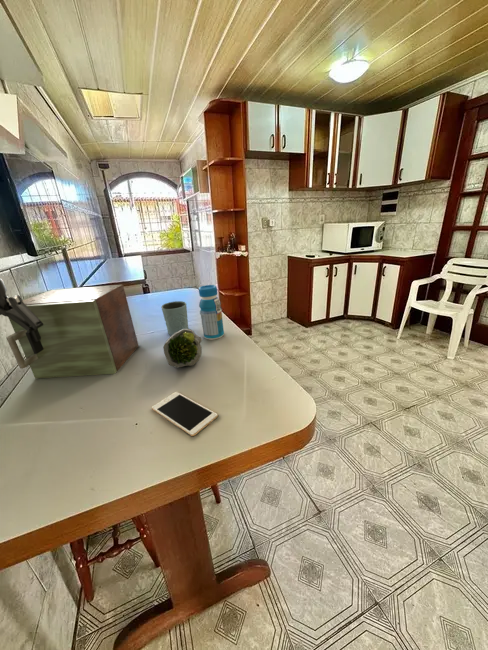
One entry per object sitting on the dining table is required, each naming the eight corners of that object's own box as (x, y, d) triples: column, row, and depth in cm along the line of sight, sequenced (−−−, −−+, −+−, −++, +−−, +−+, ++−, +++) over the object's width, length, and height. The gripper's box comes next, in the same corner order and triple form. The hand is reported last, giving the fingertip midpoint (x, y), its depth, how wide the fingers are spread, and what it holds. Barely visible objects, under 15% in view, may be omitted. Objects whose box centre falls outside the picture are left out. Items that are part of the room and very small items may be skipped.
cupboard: (117, 371, 86) (95, 298, 77) (39, 376, 88) (8, 305, 78) (138, 346, 103) (123, 284, 94) (72, 350, 104) (50, 289, 95)
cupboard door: (105, 384, 79) (80, 307, 70) (21, 389, 81) (-15, 314, 71) (117, 371, 86) (95, 299, 77) (38, 376, 87) (8, 306, 78)
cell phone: (176, 393, 72) (176, 391, 72) (218, 416, 63) (218, 414, 62) (151, 409, 67) (150, 407, 67) (192, 437, 57) (192, 434, 57)
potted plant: (205, 340, 95) (217, 345, 81) (183, 370, 92) (191, 381, 78) (177, 320, 91) (184, 322, 77) (154, 351, 88) (157, 359, 75)
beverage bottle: (207, 342, 101) (199, 291, 94) (201, 334, 109) (193, 286, 101) (227, 337, 104) (222, 287, 97) (220, 329, 111) (214, 283, 104)
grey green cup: (177, 325, 120) (173, 300, 116) (195, 328, 115) (191, 301, 111) (161, 334, 112) (155, 307, 107) (180, 337, 107) (174, 309, 103)
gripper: (39, 273, 71) (66, 344, 79) (-49, 281, 72) (-14, 350, 80) (17, 279, 64) (49, 356, 72) (-80, 287, 65) (-38, 362, 73)
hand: (16, 353), depth 76 cm, fingers open, 13 cm apart
